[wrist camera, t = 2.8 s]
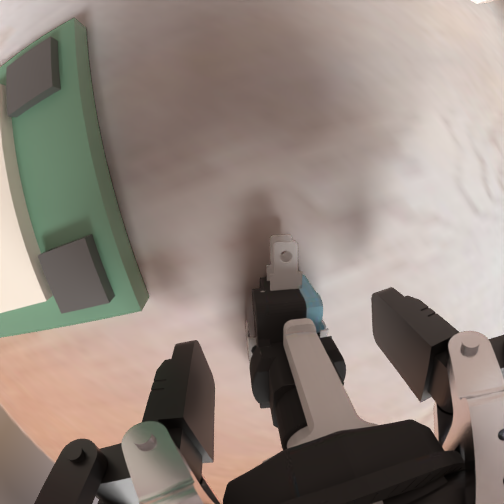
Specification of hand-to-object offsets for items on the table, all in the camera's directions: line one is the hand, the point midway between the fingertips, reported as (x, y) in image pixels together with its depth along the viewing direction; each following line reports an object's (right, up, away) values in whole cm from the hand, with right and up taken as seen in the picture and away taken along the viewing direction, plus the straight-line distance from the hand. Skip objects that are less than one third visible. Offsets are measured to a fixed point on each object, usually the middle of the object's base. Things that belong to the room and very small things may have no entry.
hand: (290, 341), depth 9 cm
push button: (0, +1, +2) cm, 2 cm away
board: (-14, +5, 0) cm, 15 cm away
